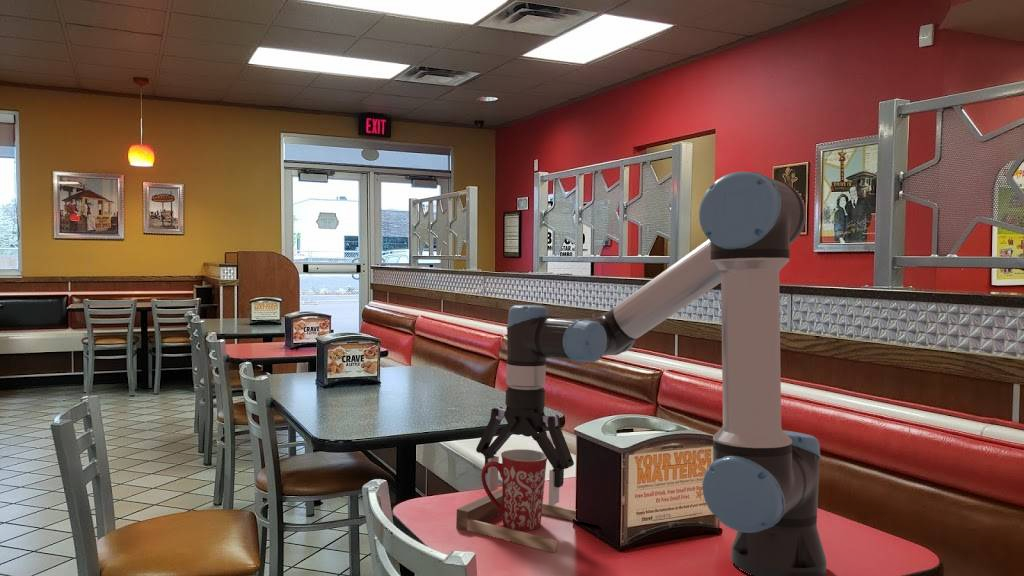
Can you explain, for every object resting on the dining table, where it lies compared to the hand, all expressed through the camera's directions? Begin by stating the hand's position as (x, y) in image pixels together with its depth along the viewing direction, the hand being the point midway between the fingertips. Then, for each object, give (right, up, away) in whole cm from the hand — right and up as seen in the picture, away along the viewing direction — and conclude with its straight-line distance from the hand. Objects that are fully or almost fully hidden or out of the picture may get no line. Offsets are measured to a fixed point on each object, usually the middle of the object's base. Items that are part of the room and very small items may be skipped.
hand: (522, 497), depth 142 cm
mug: (-2, -6, +1) cm, 6 cm away
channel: (+1, -5, -1) cm, 5 cm away
